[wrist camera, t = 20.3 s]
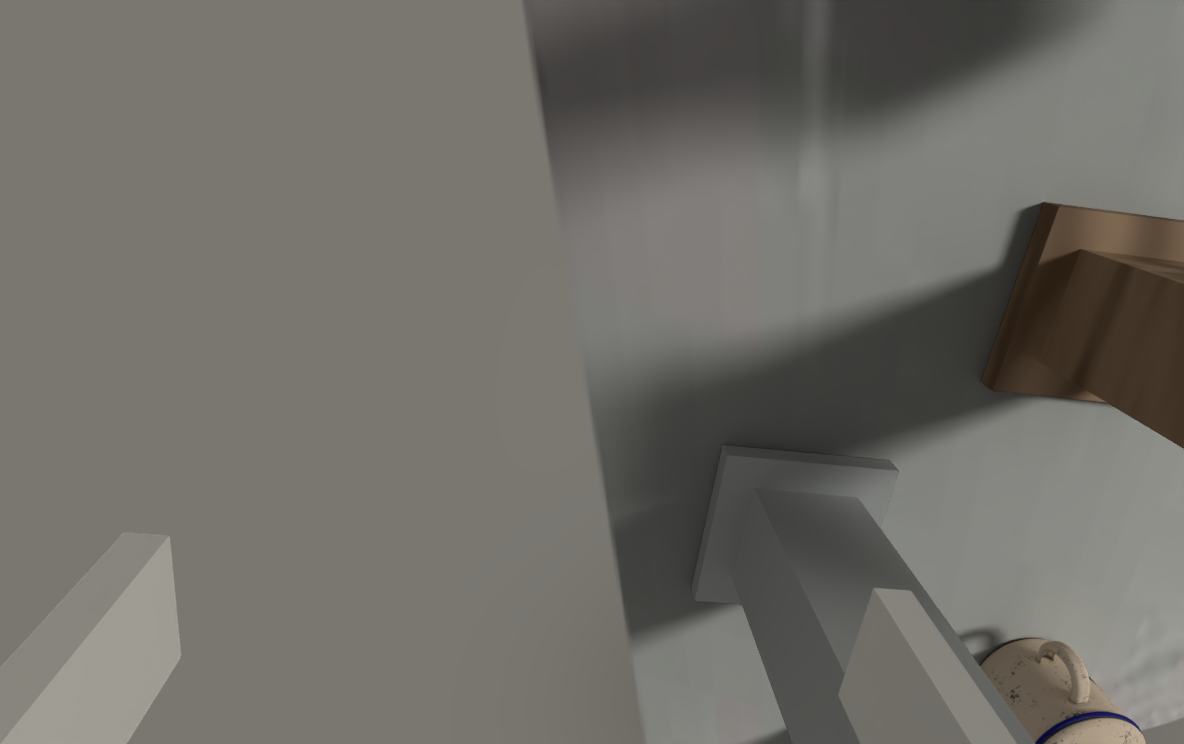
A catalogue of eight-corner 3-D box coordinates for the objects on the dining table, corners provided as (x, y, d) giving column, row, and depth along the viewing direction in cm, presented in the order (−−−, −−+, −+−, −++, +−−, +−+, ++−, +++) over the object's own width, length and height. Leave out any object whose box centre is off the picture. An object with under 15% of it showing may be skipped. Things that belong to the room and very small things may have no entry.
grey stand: (691, 587, 59) (815, 1040, 32) (722, 444, 55) (901, 831, 27) (845, 599, 61) (1095, 1044, 33) (889, 460, 56) (1224, 844, 28)
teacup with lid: (1064, 706, 67) (1164, 828, 56) (965, 719, 67) (1045, 844, 56) (1082, 600, 62) (1194, 711, 51) (975, 614, 62) (1065, 728, 51)
